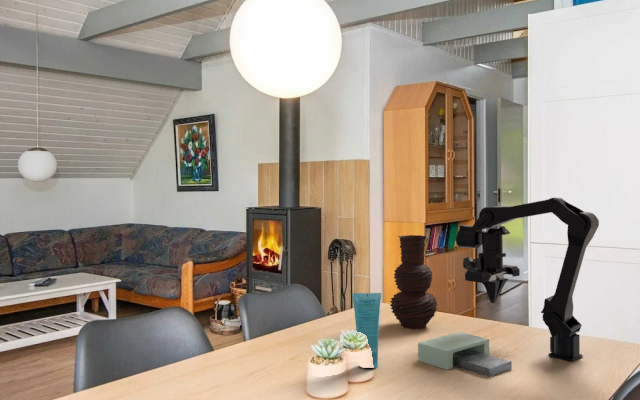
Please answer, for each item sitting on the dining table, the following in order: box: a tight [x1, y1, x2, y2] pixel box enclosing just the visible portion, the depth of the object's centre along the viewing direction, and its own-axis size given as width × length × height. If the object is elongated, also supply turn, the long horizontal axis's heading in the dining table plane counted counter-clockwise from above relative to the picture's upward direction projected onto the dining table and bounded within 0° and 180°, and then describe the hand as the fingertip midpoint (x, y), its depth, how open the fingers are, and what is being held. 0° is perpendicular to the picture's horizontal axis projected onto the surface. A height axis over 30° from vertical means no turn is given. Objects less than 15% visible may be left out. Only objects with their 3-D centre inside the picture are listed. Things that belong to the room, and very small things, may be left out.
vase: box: [389, 234, 438, 330], centre depth 186 cm, size 15×15×30 cm
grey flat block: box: [453, 349, 513, 378], centre depth 146 cm, size 18×9×2 cm, turn 37°
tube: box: [351, 292, 382, 369], centre depth 146 cm, size 7×5×19 cm, turn 96°
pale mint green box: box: [417, 331, 490, 371], centre depth 151 cm, size 10×17×5 cm, turn 127°
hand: (492, 302), depth 164 cm, fingers closed
